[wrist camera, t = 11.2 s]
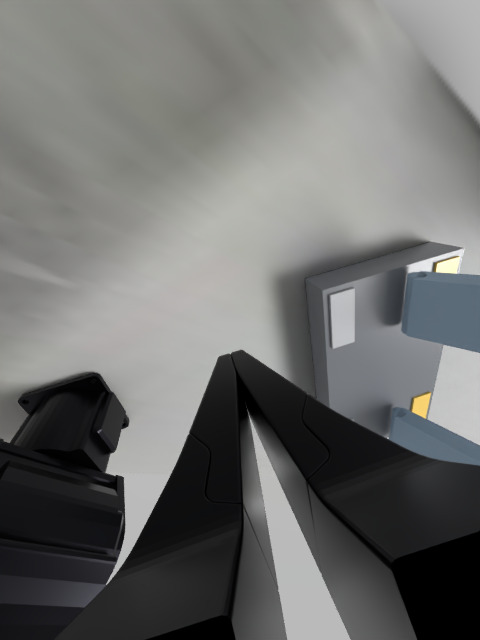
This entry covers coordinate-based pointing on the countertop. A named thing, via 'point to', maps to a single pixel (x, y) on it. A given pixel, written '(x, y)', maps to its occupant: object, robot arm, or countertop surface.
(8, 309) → the countertop surface
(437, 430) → the upright blue panel
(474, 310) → the panel
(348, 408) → the switch panel
